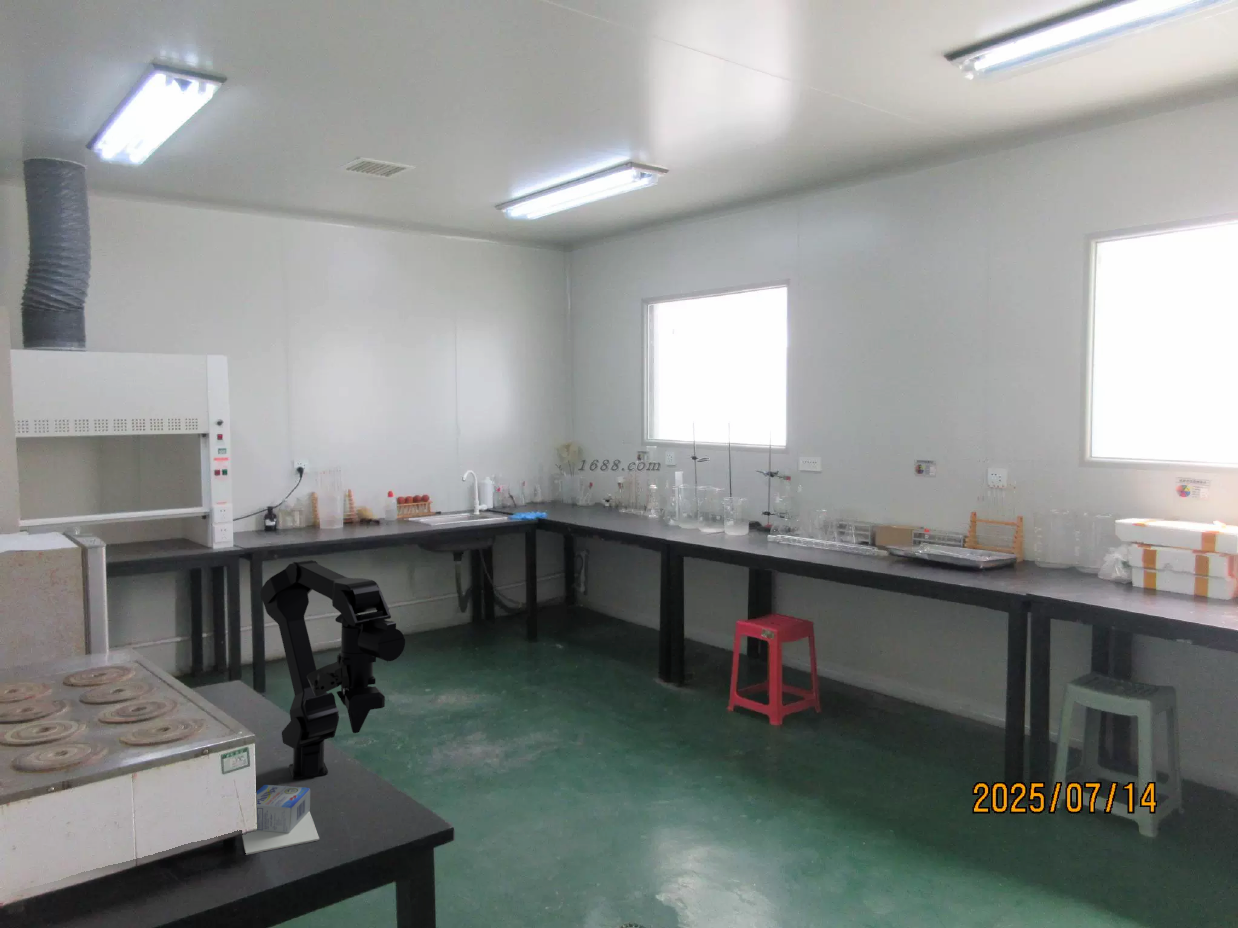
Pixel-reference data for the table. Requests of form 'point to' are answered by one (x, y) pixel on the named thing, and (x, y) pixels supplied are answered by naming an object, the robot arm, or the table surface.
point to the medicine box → (281, 807)
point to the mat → (281, 837)
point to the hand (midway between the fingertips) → (355, 732)
